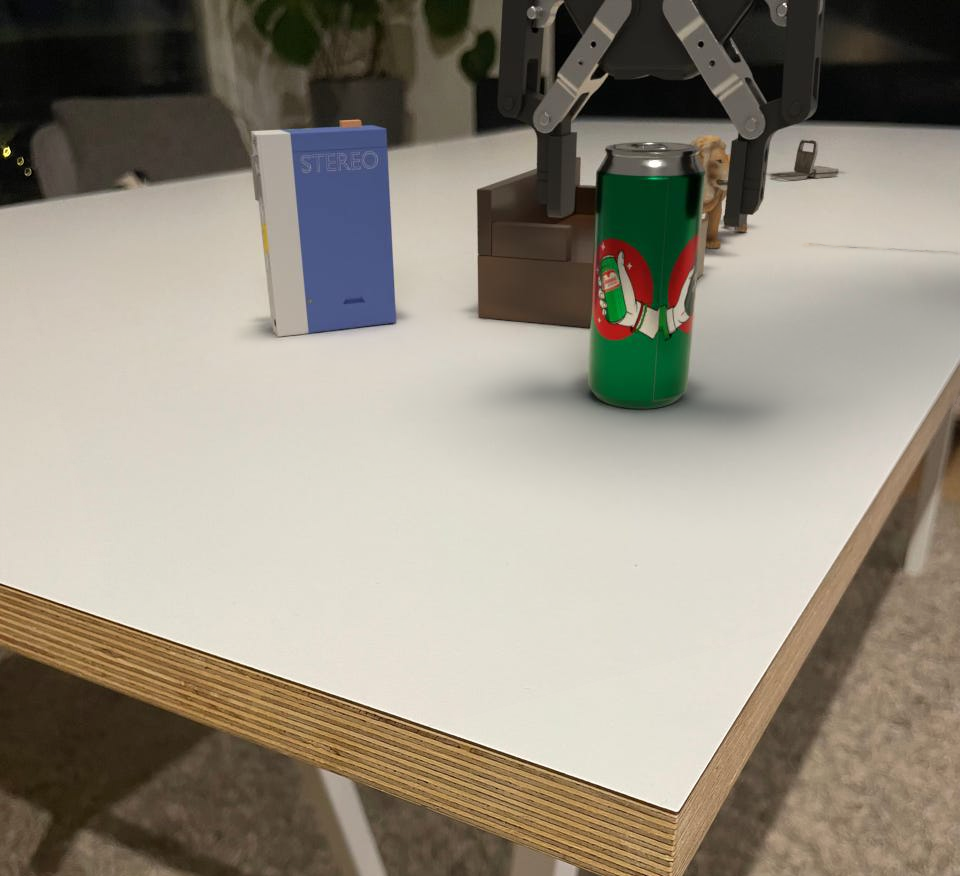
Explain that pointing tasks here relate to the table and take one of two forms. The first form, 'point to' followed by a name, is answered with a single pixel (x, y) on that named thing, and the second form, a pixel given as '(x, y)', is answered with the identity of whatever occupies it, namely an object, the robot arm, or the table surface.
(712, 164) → the lion figurine
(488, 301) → the brown toy sofa
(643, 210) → the soda can
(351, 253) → the walkman
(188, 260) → the table surface
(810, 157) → the strap clip
